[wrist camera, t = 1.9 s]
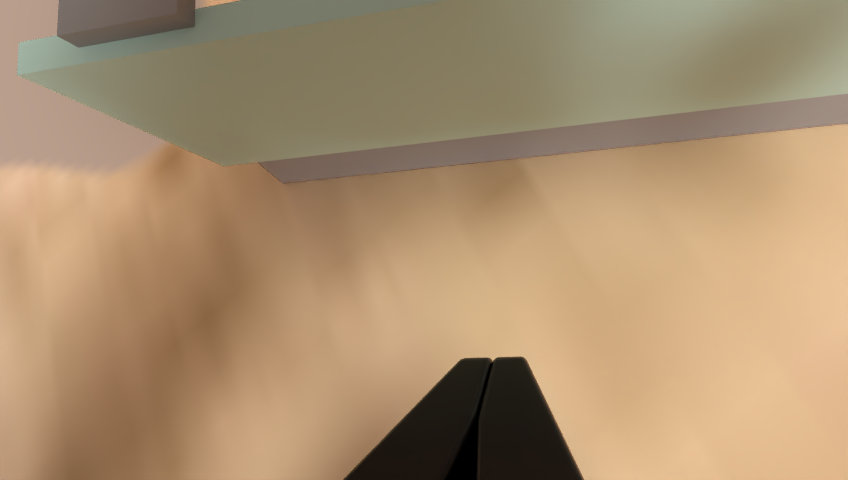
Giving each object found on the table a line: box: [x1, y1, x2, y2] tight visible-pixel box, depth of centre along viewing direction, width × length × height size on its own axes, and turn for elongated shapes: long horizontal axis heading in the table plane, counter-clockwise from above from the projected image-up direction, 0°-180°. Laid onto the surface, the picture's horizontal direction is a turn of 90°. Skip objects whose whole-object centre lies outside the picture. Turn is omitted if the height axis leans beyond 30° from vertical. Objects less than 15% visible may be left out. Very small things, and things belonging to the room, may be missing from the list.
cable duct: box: [258, 94, 848, 183], centre depth 23 cm, size 8×22×4 cm, turn 90°
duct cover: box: [17, 0, 848, 166], centre depth 16 cm, size 9×22×2 cm
